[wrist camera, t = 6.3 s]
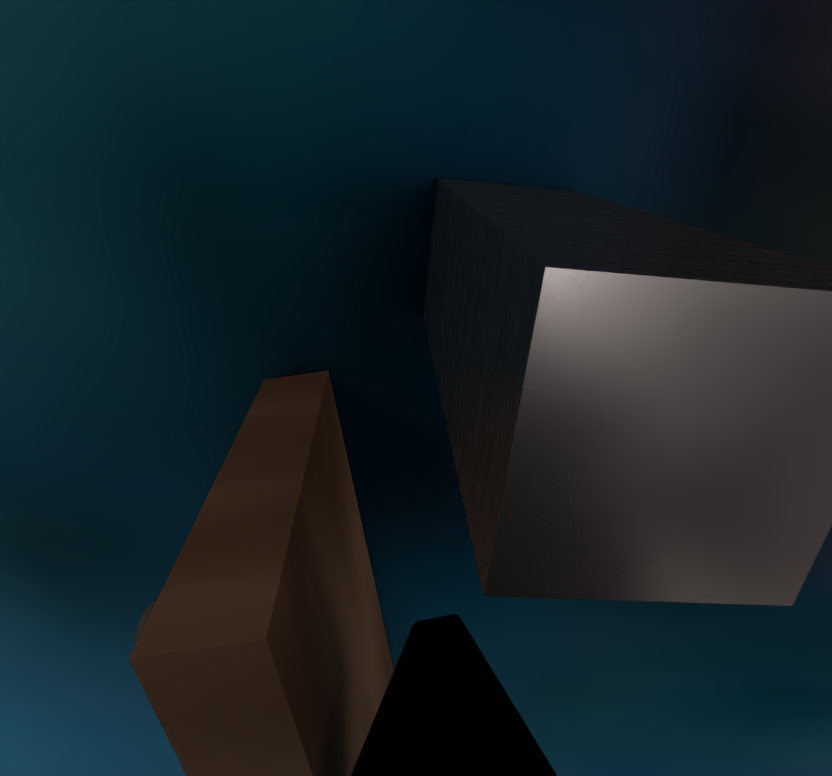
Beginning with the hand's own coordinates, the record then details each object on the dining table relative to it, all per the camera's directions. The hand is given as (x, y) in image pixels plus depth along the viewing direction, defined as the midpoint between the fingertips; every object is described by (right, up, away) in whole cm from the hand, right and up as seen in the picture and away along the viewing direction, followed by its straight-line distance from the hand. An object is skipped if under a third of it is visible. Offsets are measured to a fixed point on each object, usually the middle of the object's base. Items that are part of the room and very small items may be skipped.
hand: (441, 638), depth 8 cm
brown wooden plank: (-2, -3, +6) cm, 7 cm away
